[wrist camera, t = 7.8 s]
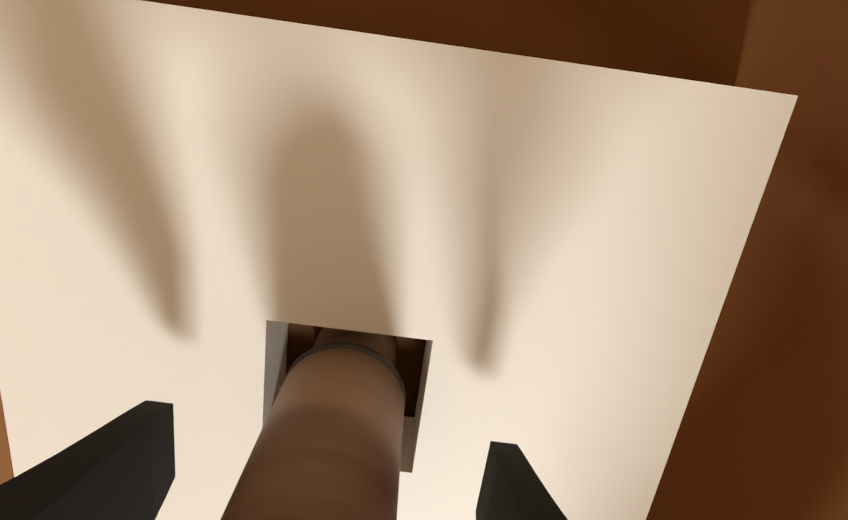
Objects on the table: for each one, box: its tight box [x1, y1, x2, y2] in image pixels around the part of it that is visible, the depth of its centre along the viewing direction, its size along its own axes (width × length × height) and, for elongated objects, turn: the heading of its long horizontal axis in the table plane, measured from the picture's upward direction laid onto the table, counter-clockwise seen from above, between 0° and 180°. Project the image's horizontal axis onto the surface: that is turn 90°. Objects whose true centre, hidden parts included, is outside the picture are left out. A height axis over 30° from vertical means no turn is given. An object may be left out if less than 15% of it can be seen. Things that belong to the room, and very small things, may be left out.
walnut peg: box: [221, 327, 406, 520], centre depth 13 cm, size 3×3×8 cm
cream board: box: [0, 0, 798, 520], centre depth 15 cm, size 18×18×2 cm
